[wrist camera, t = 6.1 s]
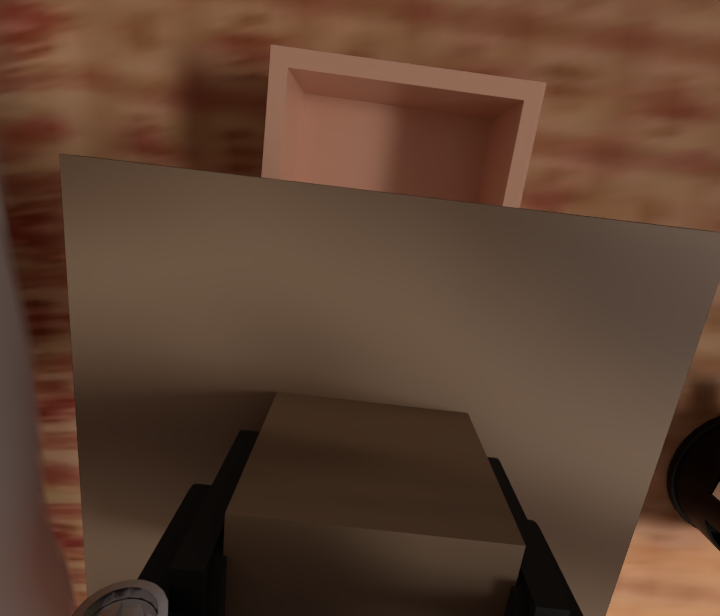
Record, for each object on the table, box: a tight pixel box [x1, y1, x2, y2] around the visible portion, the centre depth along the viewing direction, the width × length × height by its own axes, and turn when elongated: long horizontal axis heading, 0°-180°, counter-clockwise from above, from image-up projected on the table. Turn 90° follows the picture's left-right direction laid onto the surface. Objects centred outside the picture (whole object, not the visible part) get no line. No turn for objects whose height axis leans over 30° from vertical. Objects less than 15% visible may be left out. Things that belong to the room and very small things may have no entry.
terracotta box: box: [261, 45, 547, 208], centre depth 24 cm, size 12×12×6 cm
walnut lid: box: [59, 154, 720, 616], centre depth 10 cm, size 14×14×5 cm
